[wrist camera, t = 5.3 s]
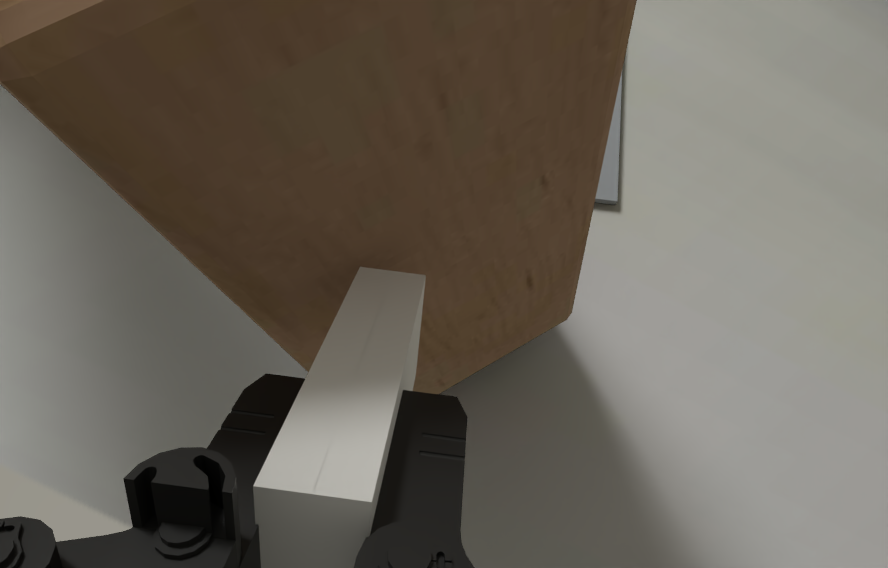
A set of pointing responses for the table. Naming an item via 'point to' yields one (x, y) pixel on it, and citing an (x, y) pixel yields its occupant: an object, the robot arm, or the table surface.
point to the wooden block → (344, 148)
